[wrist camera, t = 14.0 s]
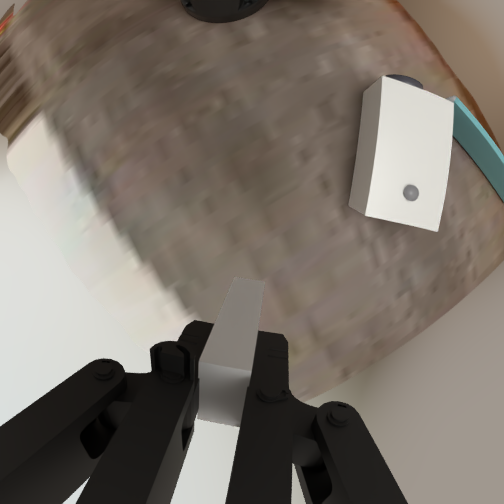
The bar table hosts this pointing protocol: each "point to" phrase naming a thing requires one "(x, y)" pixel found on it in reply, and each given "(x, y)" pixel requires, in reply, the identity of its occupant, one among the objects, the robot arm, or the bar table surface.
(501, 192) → the side door
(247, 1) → the robot arm
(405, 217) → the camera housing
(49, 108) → the bar table surface
